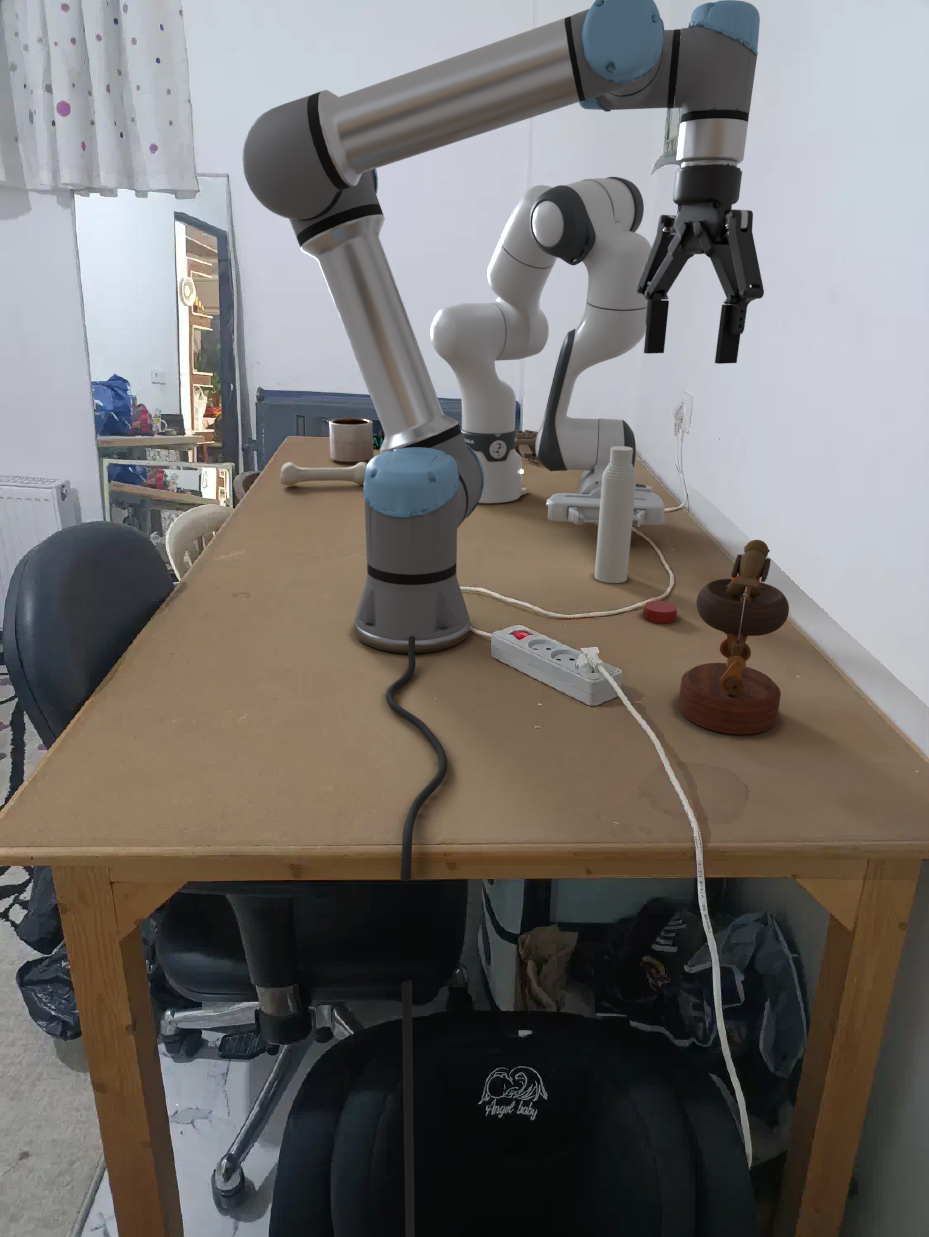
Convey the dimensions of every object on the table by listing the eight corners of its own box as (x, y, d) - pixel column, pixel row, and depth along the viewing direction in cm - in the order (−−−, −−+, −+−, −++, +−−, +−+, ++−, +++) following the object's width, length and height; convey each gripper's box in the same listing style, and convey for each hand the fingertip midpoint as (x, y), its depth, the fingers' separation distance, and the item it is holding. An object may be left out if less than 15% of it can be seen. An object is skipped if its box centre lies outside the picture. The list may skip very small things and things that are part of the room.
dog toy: (371, 480, 193) (370, 458, 191) (372, 486, 188) (372, 464, 186) (281, 482, 190) (279, 460, 188) (280, 488, 184) (278, 466, 182)
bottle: (602, 570, 138) (612, 443, 130) (631, 576, 135) (644, 447, 127) (589, 579, 134) (599, 448, 126) (619, 585, 131) (631, 453, 123)
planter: (327, 456, 217) (325, 418, 214) (369, 454, 220) (368, 417, 217) (334, 465, 208) (332, 425, 204) (377, 463, 211) (376, 424, 207)
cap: (643, 622, 117) (644, 611, 117) (642, 610, 122) (643, 599, 121) (676, 624, 117) (678, 613, 116) (674, 612, 121) (676, 601, 120)
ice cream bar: (486, 463, 212) (487, 446, 210) (479, 442, 238) (480, 427, 236) (569, 464, 213) (571, 447, 211) (554, 443, 239) (554, 428, 237)
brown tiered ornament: (796, 745, 87) (812, 560, 79) (686, 746, 88) (692, 564, 81) (764, 679, 101) (775, 516, 93) (670, 680, 102) (673, 520, 95)
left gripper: (817, 157, 89) (785, 367, 97) (666, 177, 110) (650, 349, 118) (763, 152, 86) (735, 369, 94) (618, 174, 106) (605, 350, 115)
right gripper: (547, 482, 155) (546, 500, 142) (660, 486, 153) (670, 505, 140) (545, 515, 157) (544, 536, 144) (656, 520, 155) (666, 542, 143)
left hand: (687, 358), depth 106 cm, fingers open, 13 cm apart
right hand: (607, 521), depth 142 cm, fingers open, 8 cm apart
